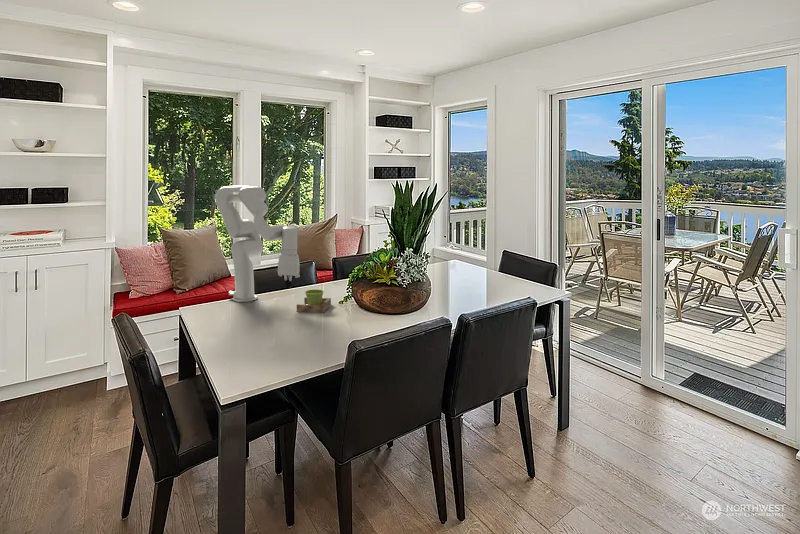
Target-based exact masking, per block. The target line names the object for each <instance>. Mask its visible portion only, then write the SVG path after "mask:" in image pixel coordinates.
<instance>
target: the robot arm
mask: <svg viewBox="0 0 800 534" xmlns="http://www.w3.org/2000/svg"><path fill="white" fill-rule="evenodd" d="M266 198H267V193H266V190H264V189H263V187H261V186H257V185H256V186H254V185H253V186H252V185H251V186H249V185H227V186H222V187H220V188H218V189H217V190H216V193H215V204H216V207H217V209H218V211H219V212H220V215H221V218H222V220H223V223H224V225H225V228H226V231H227V234H228V236H229V238H231V239H232V240H233V239H234V240H237V239H241V240H237V241H235V242H234V243H232V245H231V247H230V252H231V257H232V260H233V271H234V288H235V289H234V291H233V290H228V295H229V296H233V297H232V300H233V301H234V302H239V303H245V302H246V303H247V302H253V300H254V301H257V300H258V295H256V294H255V280H254V279H255V278H254V265H253V262H252V261H251V259H250V258H254V257H258V256H260V255H261V254H262V253H263V251H264V246H263V242H262V239H261V238H263V240H264V241H266V242H274V241H278V240H279V241H280V240H281V248H278V252H279V253H280V254H279V257H278V261H277V264H278V265H277V275H278V276H279V277H282V278H283V280H284V281H285V284H284V285H285V289H291V288H292V286H293V280H294V279H296V278H300V271H301V269H300V268H301V267H300V266H301V265H300V257H299V255H298V228H297V227H294V226H289V225H285V224H274V225H272V224H271V225H269V224H268V223H267V222H266V220H265V219H264V216H265V215H266V214H267V213H268V211H269V206H268V205H267V204H266V203H265V201H266ZM234 203H242V204H243V205H244V207H246V209H247V210H248V211H249V212H250V213H251V215H252V216H253V221H252V220H250V219H242V218H241V216H240V212H239V211H238V209H237V208H236V207H235V205H233V204H234Z"/></svg>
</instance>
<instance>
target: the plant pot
mask: <svg viewBox="0 0 800 534" xmlns="http://www.w3.org/2000/svg"><path fill="white" fill-rule="evenodd" d="M324 293H325V291H324V290H323V289H309V290H308V289H307V290H306V291H304V294H305V297H307V301H308V305H321V304H322V298H323V296H324Z"/></svg>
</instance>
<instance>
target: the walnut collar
mask: <svg viewBox="0 0 800 534" xmlns="http://www.w3.org/2000/svg"><path fill="white" fill-rule="evenodd" d="M306 304H308V301H307V296H305V297H304V303H303V304H302V303H297V304H296V313H312V312H314V313H316V314H324V313H325V312H326V311H327V310H328V309H329V308H330V306H332V298H331V297H322V304H321V305H306ZM314 313H313V314H314Z"/></svg>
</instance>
